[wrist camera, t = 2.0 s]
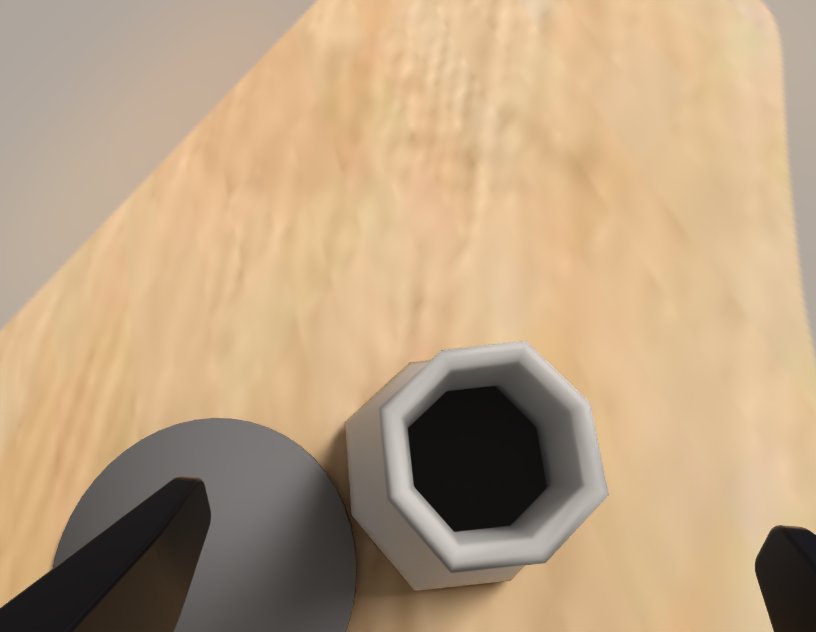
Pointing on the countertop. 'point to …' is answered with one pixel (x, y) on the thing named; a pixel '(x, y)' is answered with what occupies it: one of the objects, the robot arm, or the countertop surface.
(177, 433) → the rubber mat
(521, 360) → the flask
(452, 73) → the countertop surface
